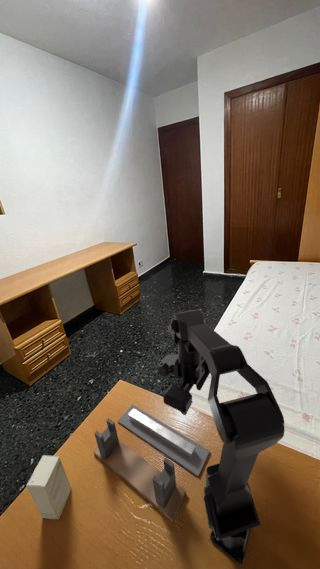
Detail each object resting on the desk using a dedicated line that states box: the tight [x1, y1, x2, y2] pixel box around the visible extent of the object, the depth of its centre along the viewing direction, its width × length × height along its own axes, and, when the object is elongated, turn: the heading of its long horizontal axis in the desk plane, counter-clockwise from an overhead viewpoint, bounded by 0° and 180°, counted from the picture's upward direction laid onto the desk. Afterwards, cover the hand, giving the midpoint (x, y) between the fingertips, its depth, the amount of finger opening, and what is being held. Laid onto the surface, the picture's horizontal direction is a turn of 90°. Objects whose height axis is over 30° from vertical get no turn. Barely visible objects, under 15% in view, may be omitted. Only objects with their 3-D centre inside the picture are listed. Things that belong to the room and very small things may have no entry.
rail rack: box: [93, 418, 187, 522], centre depth 57 cm, size 26×6×10 cm, turn 55°
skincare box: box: [25, 454, 72, 520], centre depth 52 cm, size 6×4×12 cm
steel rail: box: [128, 409, 196, 460], centre depth 66 cm, size 22×2×2 cm, turn 55°
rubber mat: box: [117, 404, 211, 478], centre depth 67 cm, size 28×7×1 cm, turn 55°
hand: (191, 401), depth 63 cm, fingers open, 9 cm apart
